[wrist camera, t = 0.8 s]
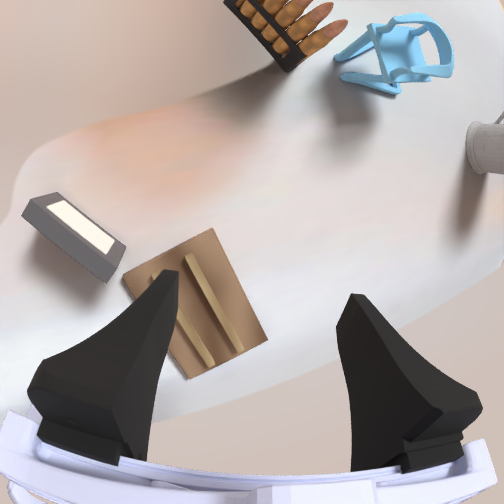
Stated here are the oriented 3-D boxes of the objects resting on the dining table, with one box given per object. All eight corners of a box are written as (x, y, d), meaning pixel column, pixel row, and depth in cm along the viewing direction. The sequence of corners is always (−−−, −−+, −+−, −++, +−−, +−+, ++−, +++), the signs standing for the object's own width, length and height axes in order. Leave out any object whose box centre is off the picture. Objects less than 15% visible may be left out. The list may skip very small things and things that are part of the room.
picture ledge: (189, 374, 35) (191, 384, 33) (123, 273, 30) (121, 280, 28) (265, 335, 36) (270, 344, 34) (212, 227, 31) (215, 231, 29)
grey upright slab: (117, 259, 29) (106, 283, 23) (49, 205, 26) (21, 215, 20) (127, 245, 29) (118, 267, 23) (58, 191, 26) (31, 197, 20)
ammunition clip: (298, 65, 29) (362, 26, 18) (286, 73, 29) (347, 34, 18) (236, -5, 25) (272, -68, 14) (222, 2, 25) (254, -63, 14)
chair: (327, 38, 29) (391, -1, 18) (381, 38, 31) (448, 12, 19) (345, 99, 32) (418, 80, 20) (398, 94, 33) (470, 81, 22)
